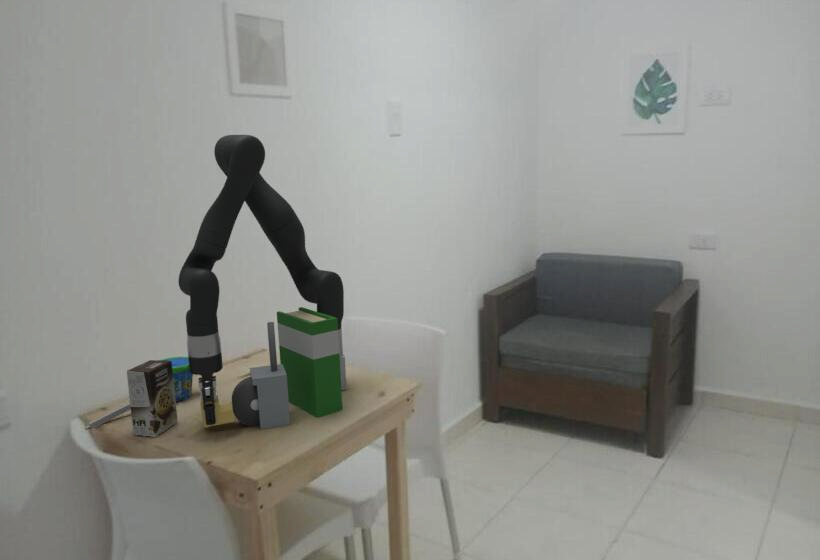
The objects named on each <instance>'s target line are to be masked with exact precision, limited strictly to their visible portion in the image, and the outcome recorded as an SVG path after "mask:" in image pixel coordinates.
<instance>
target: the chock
mask: <svg viewBox="0 0 820 560" xmlns="http://www.w3.org/2000/svg"><path fill="white" fill-rule="evenodd" d="M199 402H200V410H201V411H200V412H201V418H202V422H203V427H204V428H209V427H214V426H219V425H223V424H228V423H233V422H235V415H234V412H233V408H232V401H231V402H227V403H226V402H225V403H222V404H220V400H219V396H218V394H216V398H215V399H214V402H215V418H216V423H215V424H213V425H207V424H206V418H205V410H204V409H203V407H204V406H203V400H201V399H200V401H199ZM209 404H212V402H211V401H210V402H206V405H209Z"/></svg>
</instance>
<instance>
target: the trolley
mask: <svg viewBox="0 0 820 560" xmlns="http://www.w3.org/2000/svg"><path fill="white" fill-rule="evenodd" d="M266 324H267V326H266V327H267V328H266V329H267V340H268V350H269V352H268V353H269V365H264V366H255V367H249V372H250V373H249V374H250V376H249V377H245V378H244V379H242V380H240V381H239V382H238V383H237V384H236V386H235V387H234V389H233V391H232V392H231V393H232V394H231V402H232V408H233V412H234V418H236V420H238V422H240V423H241V424H243V425H244V426H248V427H259V428H260V430H263V429H270V428H276V427H284V426H290V425H291V418H290V417H291V414H290V403H289V400H288V386H287V374H286V372H285V369H284V366H283V364H278V359H277V358H278V356H277V347H276V345H277V344H276V333H275V330H276V329H275V322H274V321H268V322H267V323H266Z"/></svg>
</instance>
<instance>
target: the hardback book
mask: <svg viewBox="0 0 820 560" xmlns="http://www.w3.org/2000/svg"><path fill="white" fill-rule="evenodd" d="M276 322H277V335H278V346H279V347H278V349H279V359H280V364H283V366H284V369H285V372H286V374H287V386H288V400H289V404H291V405H293V406H295V407H297V408H298V409H301V410H302V411H304V412H305V413H308V414H310V415H312V416H313V417H315V418H317V419H319V418H322V417H324V416H327V415H332V414H333V413H337V412H338V413H339V412H340V411H343V410H344V409H343V394H342V391H343V390H341V372H340V355H339V338H338V320H337V318H335V317H332V316H329V315H326V314H322V313H319V312H317V310H312V309H309V308H307V307H303V306H299V307H298V310H294V311H291V312H283V311H280V310H278V311H276Z"/></svg>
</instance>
